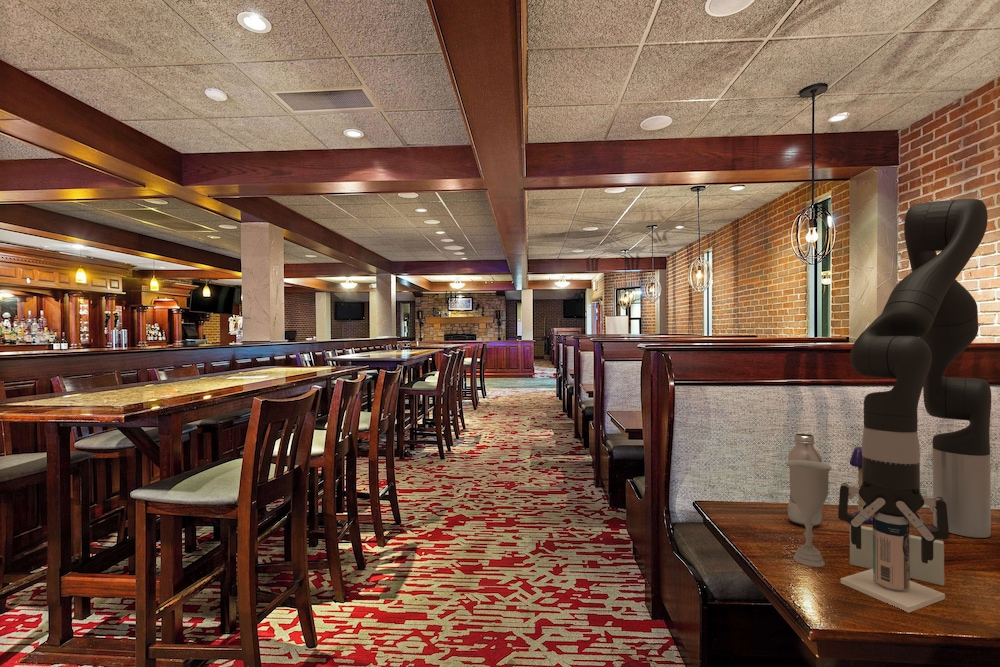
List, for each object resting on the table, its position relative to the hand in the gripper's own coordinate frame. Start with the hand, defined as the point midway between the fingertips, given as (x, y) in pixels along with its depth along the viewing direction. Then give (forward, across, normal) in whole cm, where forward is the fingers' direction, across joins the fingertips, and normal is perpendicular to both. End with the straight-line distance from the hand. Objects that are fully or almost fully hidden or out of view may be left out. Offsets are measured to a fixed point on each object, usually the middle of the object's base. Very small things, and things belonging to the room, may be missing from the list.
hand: (890, 554), depth 82 cm
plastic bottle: (+6, -15, +26) cm, 30 cm away
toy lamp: (+6, -4, +36) cm, 37 cm away
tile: (+6, 0, 0) cm, 6 cm away
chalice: (+6, -12, +5) cm, 14 cm away
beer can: (+5, 0, 0) cm, 5 cm away
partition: (+6, +1, +8) cm, 10 cm away
